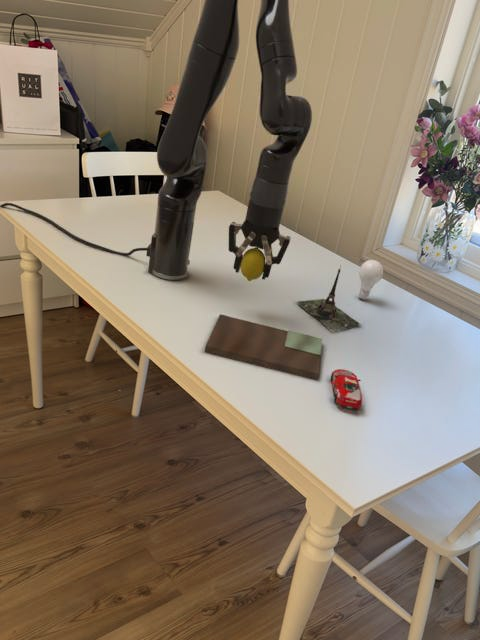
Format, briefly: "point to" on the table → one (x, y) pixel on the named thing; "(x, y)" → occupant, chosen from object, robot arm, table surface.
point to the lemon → (252, 264)
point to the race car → (346, 389)
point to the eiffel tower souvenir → (329, 311)
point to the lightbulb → (369, 277)
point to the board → (266, 346)
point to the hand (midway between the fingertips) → (250, 274)
